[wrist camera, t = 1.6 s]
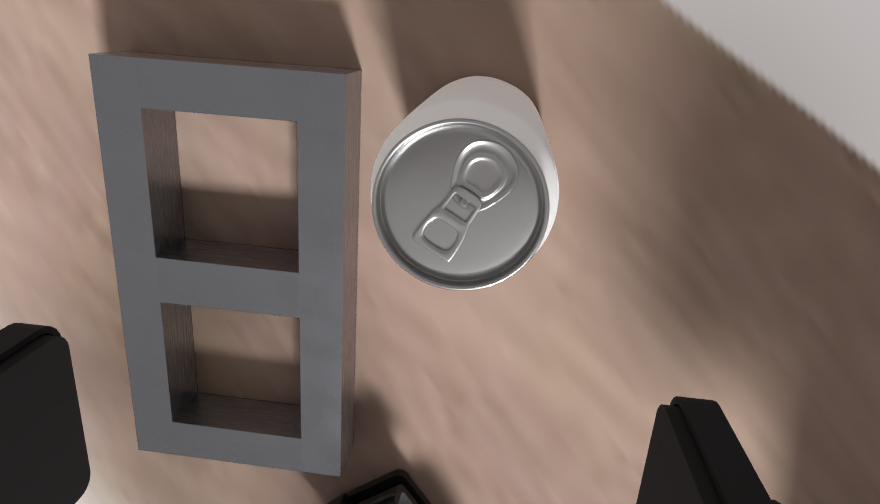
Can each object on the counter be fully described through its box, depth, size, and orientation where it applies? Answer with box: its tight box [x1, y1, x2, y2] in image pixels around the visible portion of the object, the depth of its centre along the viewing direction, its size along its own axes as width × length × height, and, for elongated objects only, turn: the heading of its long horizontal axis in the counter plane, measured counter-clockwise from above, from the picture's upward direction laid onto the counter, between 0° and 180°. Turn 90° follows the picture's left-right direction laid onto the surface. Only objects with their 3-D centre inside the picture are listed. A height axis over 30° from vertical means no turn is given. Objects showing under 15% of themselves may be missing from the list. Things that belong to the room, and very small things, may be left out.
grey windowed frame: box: [89, 51, 362, 477], centre depth 33 cm, size 12×22×3 cm, turn 176°
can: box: [370, 76, 559, 291], centre depth 25 cm, size 6×6×12 cm
